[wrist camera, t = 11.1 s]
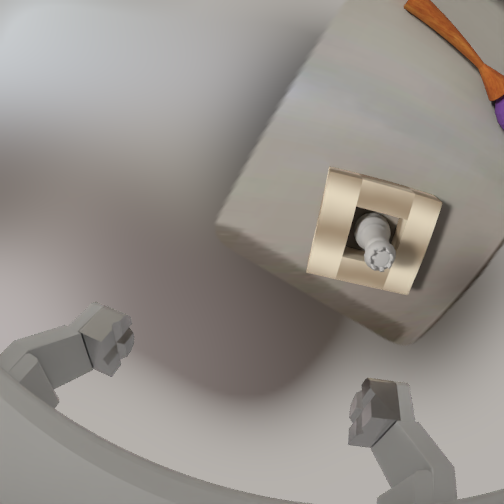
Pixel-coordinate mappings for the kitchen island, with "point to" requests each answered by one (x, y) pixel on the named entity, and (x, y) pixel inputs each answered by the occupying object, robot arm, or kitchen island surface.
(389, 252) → the rook chess piece
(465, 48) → the purple maraca
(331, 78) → the kitchen island surface
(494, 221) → the kitchen island surface
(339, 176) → the square wooden frame
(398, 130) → the kitchen island surface
